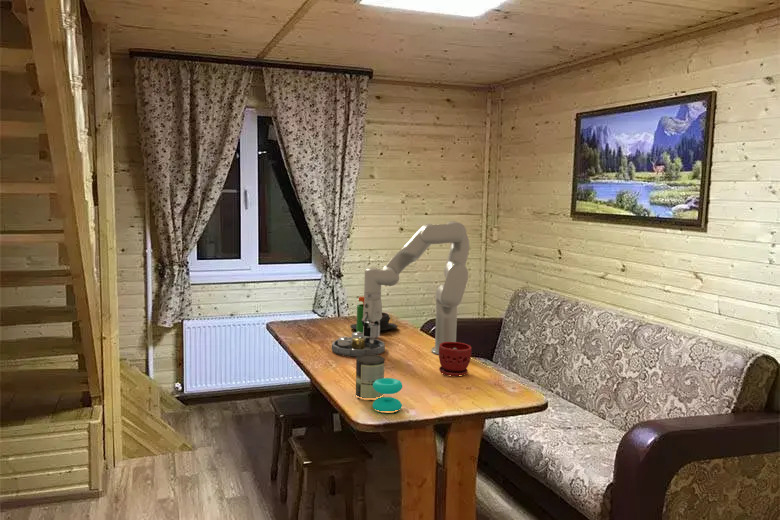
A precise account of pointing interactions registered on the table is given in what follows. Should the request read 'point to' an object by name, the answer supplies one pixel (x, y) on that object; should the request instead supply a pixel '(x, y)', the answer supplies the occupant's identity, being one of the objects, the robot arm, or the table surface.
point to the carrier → (357, 345)
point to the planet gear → (373, 331)
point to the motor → (360, 316)
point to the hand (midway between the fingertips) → (371, 334)
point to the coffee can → (368, 375)
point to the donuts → (387, 388)
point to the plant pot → (454, 358)
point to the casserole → (382, 323)
